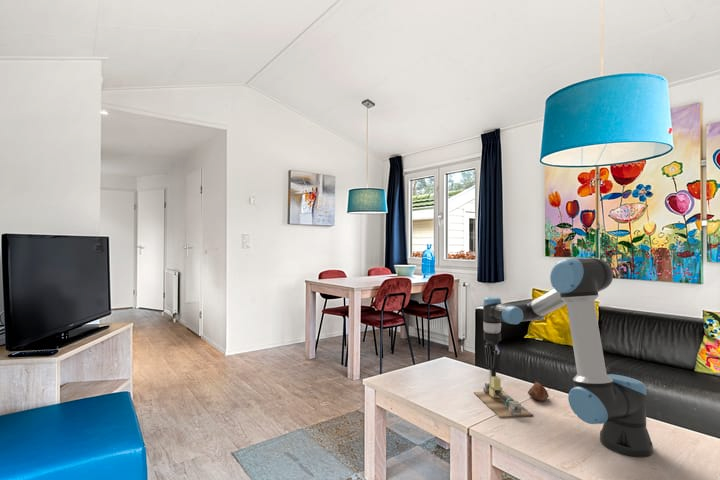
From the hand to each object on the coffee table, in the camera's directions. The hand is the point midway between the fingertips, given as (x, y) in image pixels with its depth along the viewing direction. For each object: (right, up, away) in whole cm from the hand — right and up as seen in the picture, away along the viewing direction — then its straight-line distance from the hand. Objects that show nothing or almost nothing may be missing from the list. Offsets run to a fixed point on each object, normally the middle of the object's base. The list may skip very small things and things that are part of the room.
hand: (492, 383), depth 179 cm
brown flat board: (+1, -6, -9) cm, 10 cm away
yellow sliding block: (0, -4, -3) cm, 5 cm away
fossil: (+19, -6, -3) cm, 20 cm away
